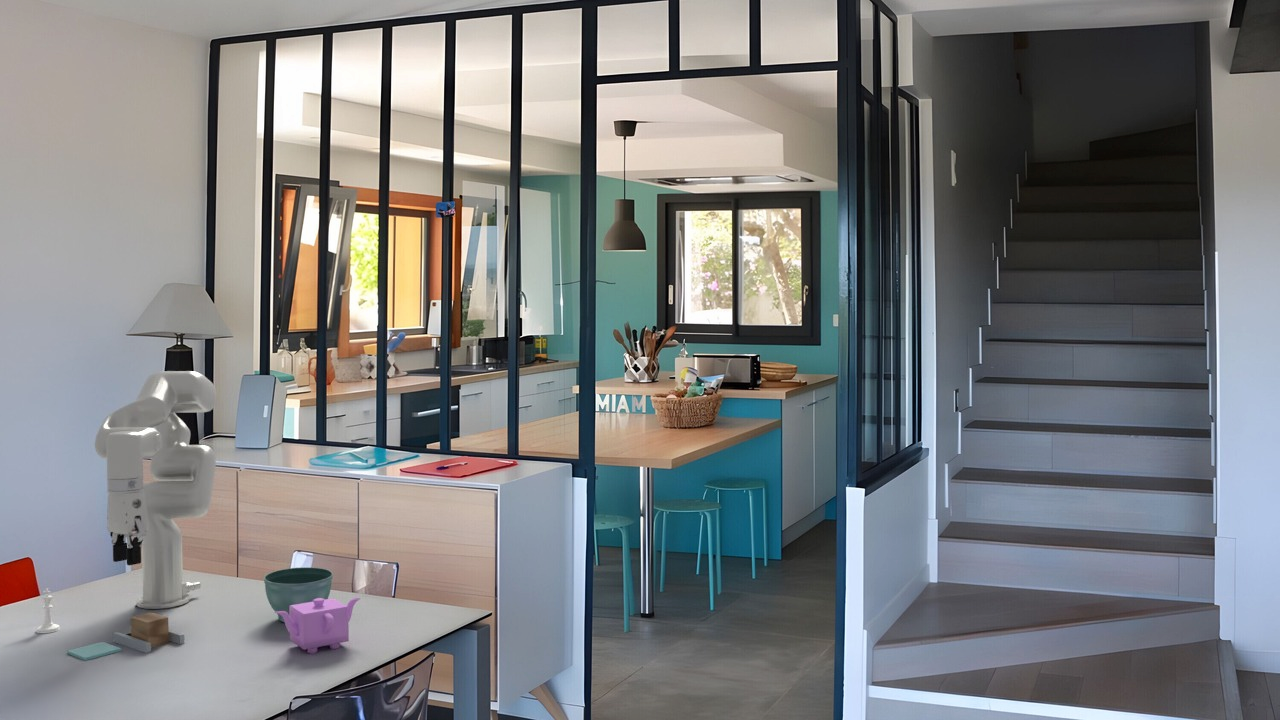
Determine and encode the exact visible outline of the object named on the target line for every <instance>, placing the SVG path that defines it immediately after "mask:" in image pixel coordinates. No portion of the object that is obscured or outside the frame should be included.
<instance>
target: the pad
mask: <svg viewBox="0 0 1280 720" xmlns="http://www.w3.org/2000/svg"><path fill="white" fill-rule="evenodd" d="M120 652H122V648H121V647H119V646H115V645H112V644H110V643H107V642H105V641H101V642H95V643H93V644H88V645H85V646H81V647H76V648H73V649H69V650H66V654H67V655H70V656H72V657H75V658H78V659H80V660H83V661H89V660H93V659H97V658H99V657H104V656H108V655H111V654H116V653H120Z"/></svg>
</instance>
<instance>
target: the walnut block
mask: <svg viewBox="0 0 1280 720" xmlns="http://www.w3.org/2000/svg"><path fill="white" fill-rule="evenodd" d="M168 629H169V617H168V616H165V615H161V614H158V613H155V612H151V611H150V612H147V613H142V614H139V615H134V616H131V617H130V633H131V637H134V638H137V639H140V640H143V641H146V642H149V643H151V649H152V648H156V647H159V646H162V645H166V644H169V631H168Z"/></svg>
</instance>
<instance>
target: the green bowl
mask: <svg viewBox="0 0 1280 720" xmlns="http://www.w3.org/2000/svg"><path fill="white" fill-rule="evenodd" d="M333 574H334V573H333V571H332V570H329V569H327V568H323V567H322V568H321V567H309V566H308V567H303V566H302V567H291V568H289V567H288V568H284V569H283V568H282V569H279V570H278V569H277V570H274V571H271V572H269V573H266V574H265V575H264V577H263V581H264V587H265V589H264V591H265V595H266V597H267V600H268V603H269V604H270V607H271V609H272V610H273V612H274V613H275V612H277V611H285V612H287V613H288V614H289V616H290V607H289V606H290V605H296V604H301V603H307V602H313V600H314V599H317V598H323V599H329V596H330V593H331V589H332V581H333V577H334V575H333ZM277 617H278V620H279V621H280V622H282V623H285V622H284V619H283V617H282V616H281V615H280V614H277Z"/></svg>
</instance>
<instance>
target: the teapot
mask: <svg viewBox="0 0 1280 720" xmlns="http://www.w3.org/2000/svg"><path fill="white" fill-rule="evenodd" d="M361 599H362V597H355V598H351V599H350V600H349V601H348V603H347V605H346V604H344V603H343V602H341V601H339V600H338V599H335V598H333V597H332V598H328V599H323V598H317V599H314V600H313V602H307V603H301V604H296V605H290V606H289V607H290V616H289V614H288V613H287V612H285V611H277V612H275V611H274V613H275V614H277V615H278V614H280V615H281V616H282V617H283V619H284V622H283V623H284V624H285V626H286V629H287V631H288V632H289V640H290V641H291V642H292V643H293V644H295V645H296V646H297V647H298V648H301V649H302V650H303V651H306V650H307V651H306V653H307V654H315V653H317V652H318V648H321V647H325V646H329V649H331V650H333V649H334V650H336V649H340V648H341V646H340V643H346V642H349V641H350V640H349V632H350V631H349V630H350V629H349V622H350V620H351V619H352V615H353V609H354V606H355V605H356V603H357V602H358V601H360V600H361Z"/></svg>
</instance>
